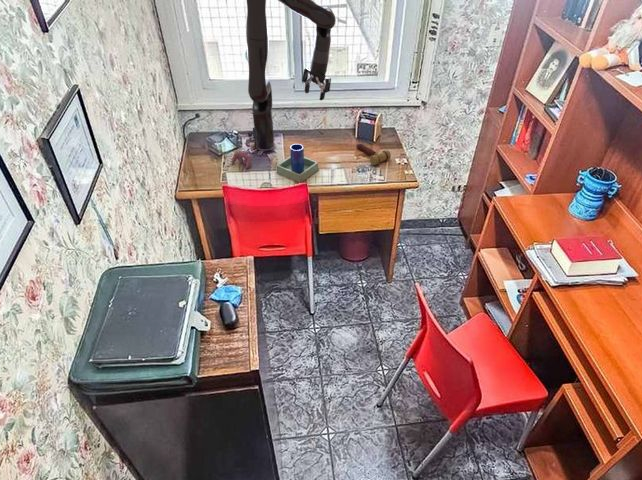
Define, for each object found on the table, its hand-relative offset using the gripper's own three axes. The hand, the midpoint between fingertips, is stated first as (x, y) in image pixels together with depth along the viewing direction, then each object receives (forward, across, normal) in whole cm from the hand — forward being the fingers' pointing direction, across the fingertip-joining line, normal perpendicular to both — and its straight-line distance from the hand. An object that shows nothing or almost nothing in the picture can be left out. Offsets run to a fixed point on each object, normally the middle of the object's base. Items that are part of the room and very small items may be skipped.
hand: (314, 96), depth 219 cm
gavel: (+20, +30, +13) cm, 38 cm away
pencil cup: (+27, +11, -21) cm, 35 cm away
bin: (+27, +11, -21) cm, 36 cm away
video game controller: (+31, -14, -31) cm, 46 cm away
